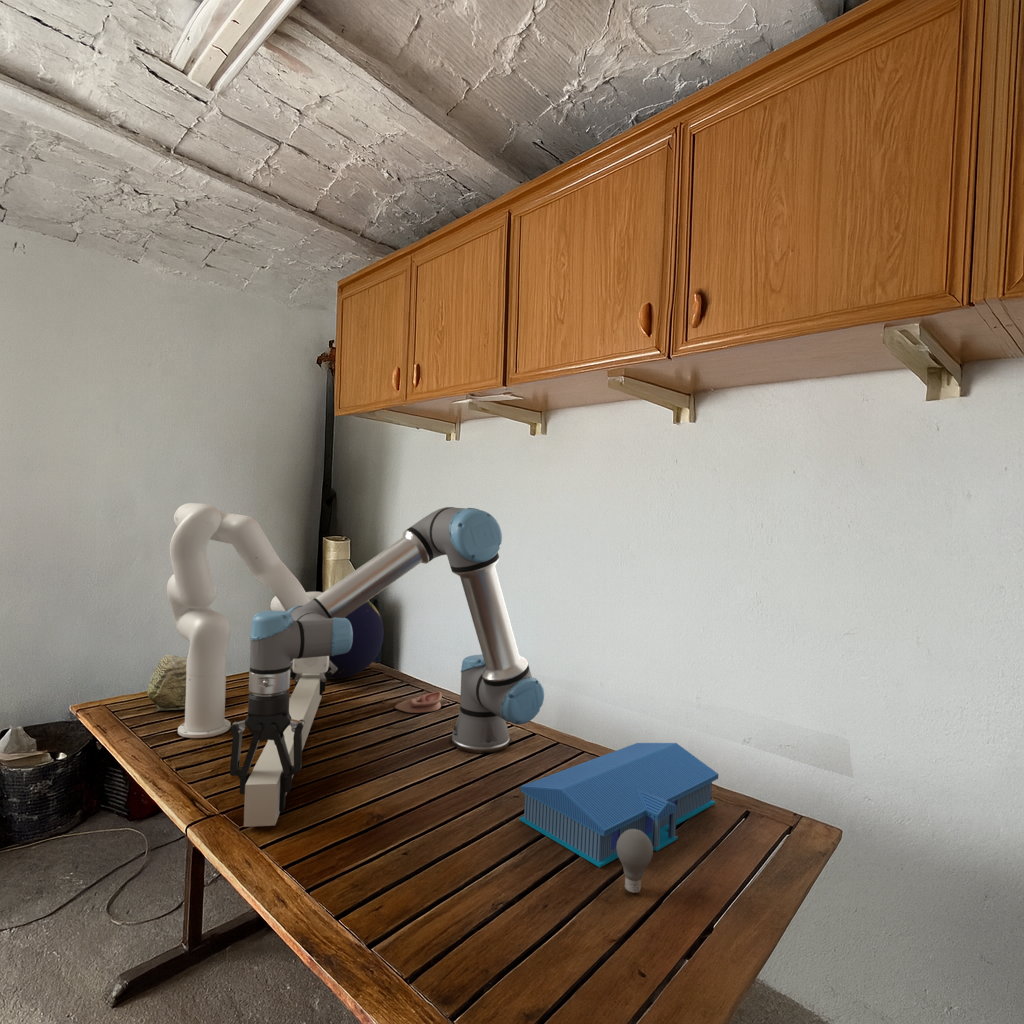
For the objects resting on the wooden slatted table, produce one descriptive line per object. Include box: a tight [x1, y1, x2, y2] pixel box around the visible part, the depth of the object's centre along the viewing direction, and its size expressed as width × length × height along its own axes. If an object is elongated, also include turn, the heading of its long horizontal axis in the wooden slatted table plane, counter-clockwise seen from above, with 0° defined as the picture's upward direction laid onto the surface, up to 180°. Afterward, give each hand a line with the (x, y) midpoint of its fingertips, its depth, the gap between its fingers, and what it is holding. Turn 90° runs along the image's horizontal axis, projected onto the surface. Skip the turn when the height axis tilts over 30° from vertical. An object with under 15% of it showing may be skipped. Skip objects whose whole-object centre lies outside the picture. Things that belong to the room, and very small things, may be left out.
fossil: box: [147, 654, 188, 712], centre depth 185 cm, size 9×18×15 cm, turn 132°
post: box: [243, 673, 323, 828], centre depth 156 cm, size 76×6×8 cm, turn 10°
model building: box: [519, 742, 719, 868], centre depth 132 cm, size 39×24×10 cm, turn 132°
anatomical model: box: [394, 691, 443, 714], centre depth 193 cm, size 13×4×12 cm
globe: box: [325, 600, 385, 680], centre depth 220 cm, size 30×30×30 cm
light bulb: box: [616, 829, 654, 894], centre depth 106 cm, size 6×6×10 cm
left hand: (310, 693), depth 189 cm, fingers closed on post, 5 cm apart
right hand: (265, 808), depth 124 cm, fingers closed on post, 6 cm apart
